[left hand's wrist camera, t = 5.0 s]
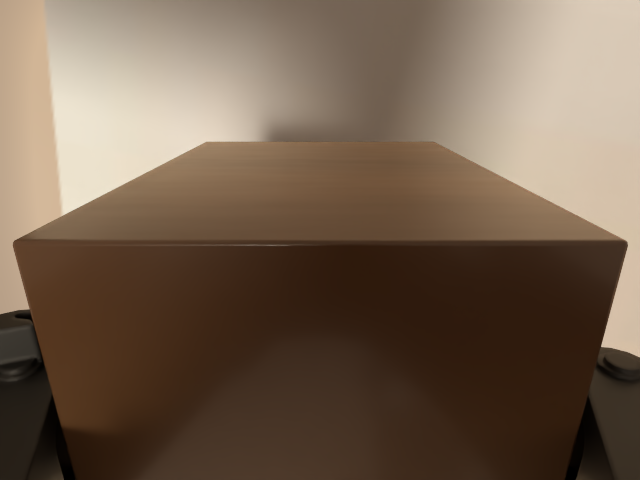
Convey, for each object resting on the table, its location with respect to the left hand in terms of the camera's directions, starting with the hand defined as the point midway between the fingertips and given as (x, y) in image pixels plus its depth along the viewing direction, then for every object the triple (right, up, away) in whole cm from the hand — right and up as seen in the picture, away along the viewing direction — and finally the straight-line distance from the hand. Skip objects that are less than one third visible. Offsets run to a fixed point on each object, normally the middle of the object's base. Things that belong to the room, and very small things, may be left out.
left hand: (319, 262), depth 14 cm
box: (0, -7, +3) cm, 8 cm away
